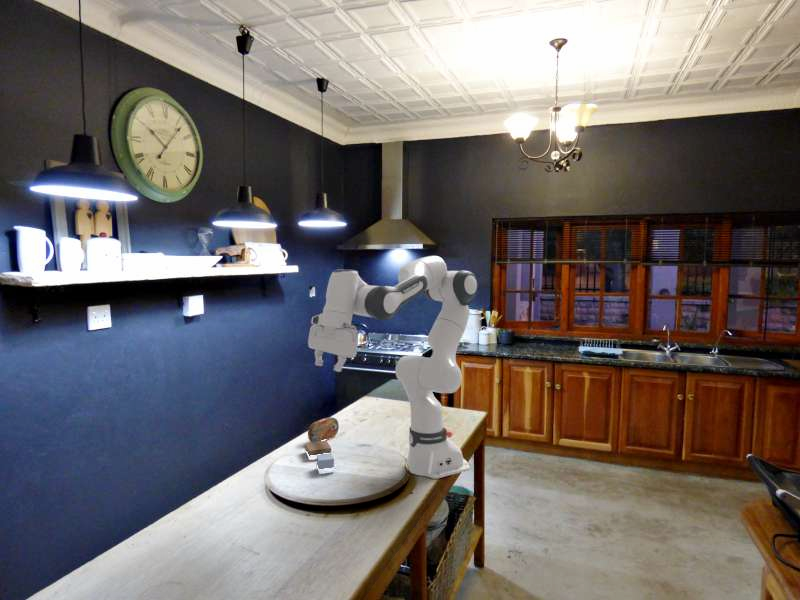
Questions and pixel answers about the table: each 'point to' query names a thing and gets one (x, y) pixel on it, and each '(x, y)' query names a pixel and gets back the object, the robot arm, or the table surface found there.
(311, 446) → the walnut block
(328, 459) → the blue cube
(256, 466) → the table surface
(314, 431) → the tin
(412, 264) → the robot arm
